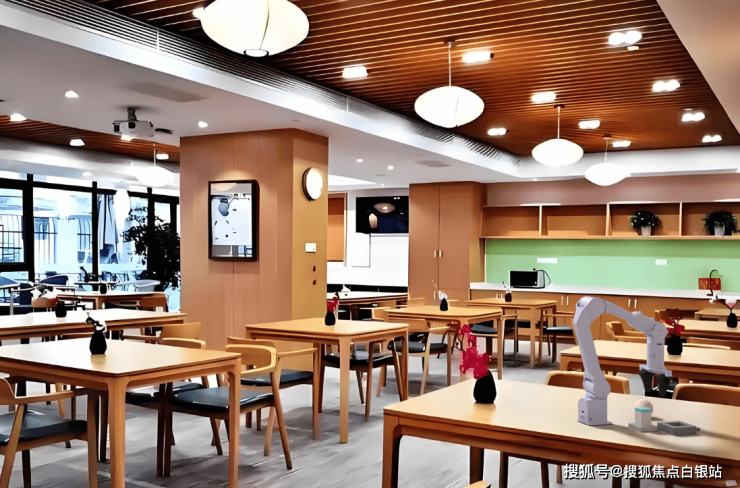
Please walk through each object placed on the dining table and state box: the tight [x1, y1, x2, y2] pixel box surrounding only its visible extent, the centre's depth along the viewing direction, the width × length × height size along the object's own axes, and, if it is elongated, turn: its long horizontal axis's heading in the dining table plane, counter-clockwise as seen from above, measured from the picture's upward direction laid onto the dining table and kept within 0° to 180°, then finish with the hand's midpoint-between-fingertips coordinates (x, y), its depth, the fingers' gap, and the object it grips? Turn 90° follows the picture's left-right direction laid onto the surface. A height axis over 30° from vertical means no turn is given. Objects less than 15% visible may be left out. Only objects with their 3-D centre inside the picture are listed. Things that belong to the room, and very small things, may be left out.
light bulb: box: [633, 398, 654, 415], centre depth 249 cm, size 7×7×11 cm
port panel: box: [656, 420, 701, 436], centre depth 229 cm, size 14×8×2 cm, turn 105°
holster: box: [627, 422, 659, 433], centre depth 232 cm, size 7×6×2 cm
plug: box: [634, 407, 652, 427], centre depth 232 cm, size 4×3×7 cm
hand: (655, 393), depth 243 cm, fingers open, 7 cm apart
